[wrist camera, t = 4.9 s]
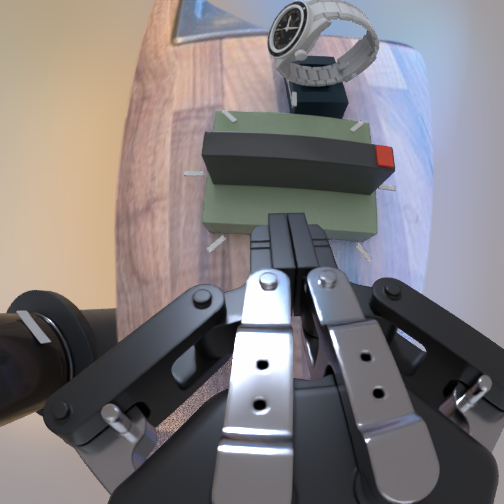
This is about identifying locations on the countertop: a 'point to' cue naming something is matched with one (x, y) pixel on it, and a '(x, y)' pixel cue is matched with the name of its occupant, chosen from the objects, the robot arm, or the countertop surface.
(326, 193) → the dial panel
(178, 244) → the countertop surface
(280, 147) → the pointer
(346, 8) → the watch
